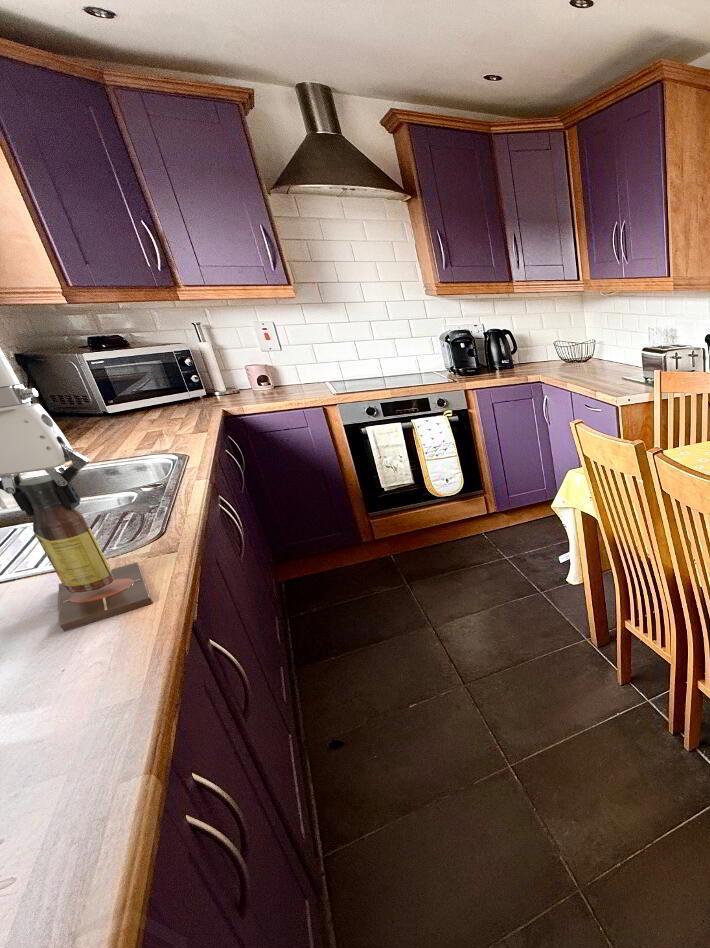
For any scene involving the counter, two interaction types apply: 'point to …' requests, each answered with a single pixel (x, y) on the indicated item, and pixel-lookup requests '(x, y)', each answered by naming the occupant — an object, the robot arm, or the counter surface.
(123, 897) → the counter surface
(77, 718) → the counter surface
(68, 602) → the board
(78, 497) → the robot arm
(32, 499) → the sauce bottle
